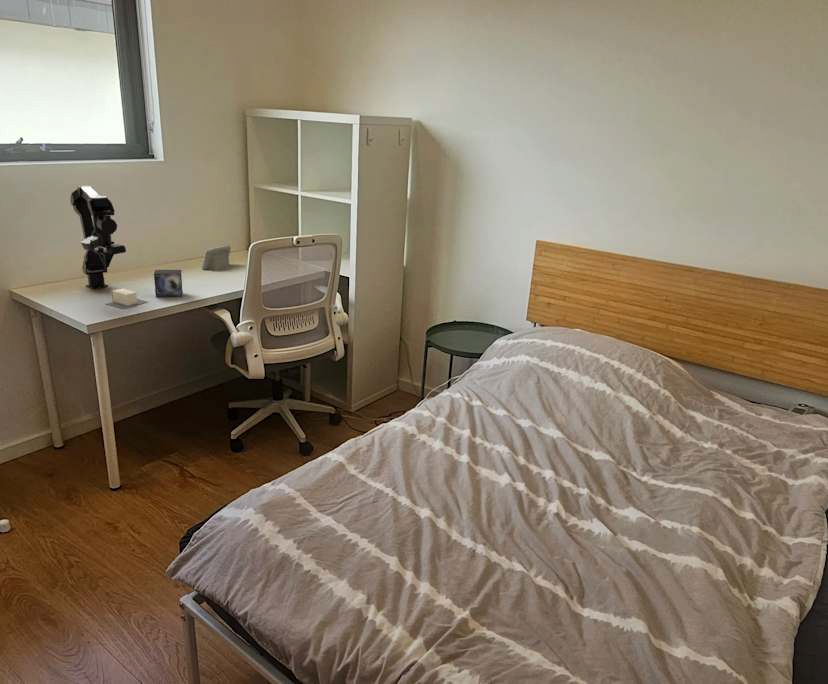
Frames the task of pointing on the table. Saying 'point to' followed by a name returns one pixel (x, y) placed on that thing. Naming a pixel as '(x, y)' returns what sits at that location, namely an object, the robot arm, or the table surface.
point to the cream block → (124, 296)
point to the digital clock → (216, 258)
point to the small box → (168, 283)
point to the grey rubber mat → (126, 305)
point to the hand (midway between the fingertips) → (106, 267)
